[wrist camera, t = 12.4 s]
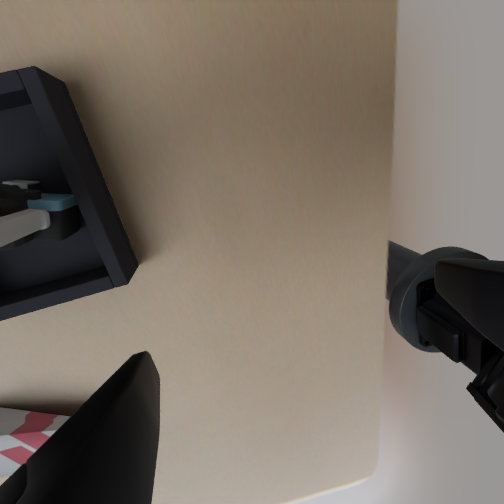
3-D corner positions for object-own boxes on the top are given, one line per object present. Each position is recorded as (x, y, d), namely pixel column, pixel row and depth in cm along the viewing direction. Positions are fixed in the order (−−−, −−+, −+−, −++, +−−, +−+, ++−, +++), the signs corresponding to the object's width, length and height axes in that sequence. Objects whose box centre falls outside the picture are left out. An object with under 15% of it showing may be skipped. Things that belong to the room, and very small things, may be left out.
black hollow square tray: (64, 81, 16) (34, 65, 13) (139, 265, 20) (128, 284, 17) (-113, 122, 15) (-187, 114, 12) (-1, 305, 19) (-38, 332, 16)
